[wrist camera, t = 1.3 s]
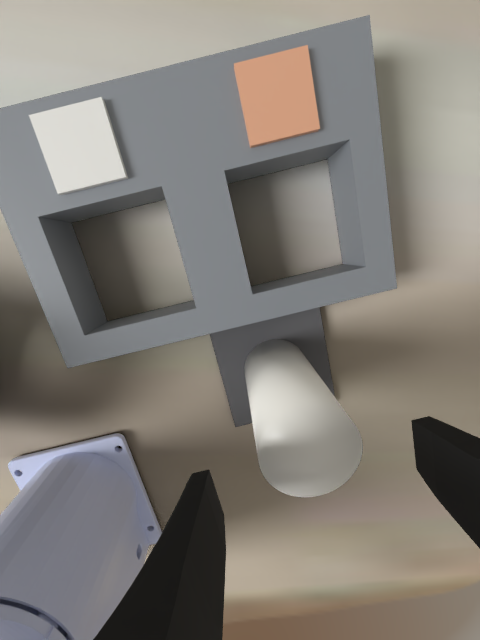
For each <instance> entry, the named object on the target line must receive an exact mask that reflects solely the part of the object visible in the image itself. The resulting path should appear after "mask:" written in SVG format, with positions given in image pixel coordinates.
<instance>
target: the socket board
mask: <svg viewBox="0 0 480 640" xmlns="http://www.w3.org/2000/svg"><path fill="white" fill-rule="evenodd" d="M326 159H328V166H329V173H330V180H331V187H332V194H333V201H334V208H335V214H336V221H337V228H338V235H339V242H340V249H341V256H342V263H343V264H341V265H337V266H333V267H329V268H324V269H320V270H316V271H312V272H308V273H304V274H300V275H296V276H292V277H288V278H283V279H279V280H275V281H271V282H267V283H263V284H259V285H255V286H250V281H249V277H248V273H247V268H246V264H245V259H244V255H243V251H242V246H241V242H240V238H239V233H238V229H237V224H236V220H235V216H234V211H233V207H232V203H231V198H230V194H229V190H228V185H227V184H229V183H233V182H237V181H241V180H245V179H249V178H253V177H257V176H261V175H265V174H269V173H273V172H277V171H281V170H285V169H289V168H293V167H297V166H302V165H306V164H310V163H314V162H318V161H322V160H326ZM164 199H166V203H167V206H168V210H169V213H170V217H171V220H172V224H173V228H174V231H175V235H176V238H177V242H178V245H179V249H180V252H181V256H182V259H183V263H184V267H185V270H186V274H187V277H188V281H189V284H190V288H191V291H192V295H193V298H194V300H193V301H189V302H185V303H181V304H177V305H173V306H169V307H165V308H161V309H156V310H152V311H148V312H144V313H140V314H136V315H132V316H128V317H124V318H120V319H115V320H111V321H107V319H106V316H105V314H104V311H103V308H102V305H101V303H100V300H99V297H98V294H97V292H96V289H95V286H94V283H93V281H92V278H91V275H90V273H89V270H88V267H87V264H86V262H85V259H84V256H83V253H82V251H81V248H80V245H79V242H78V240H77V237H76V234H75V231H74V229H73V226H72V223H71V222H76V221H80V220H84V219H88V218H92V217H96V216H100V215H104V214H108V213H112V212H116V211H120V210H124V209H128V208H132V207H136V206H140V205H144V204H148V203H152V202H156V201H160V200H164ZM0 209H1V211H2V214H3V216H4V218H5V221H6V223H7V225H8V228H9V230H10V233H11V235H12V237H13V240H14V242H15V245H16V247H17V249H18V252H19V254H20V256H21V259H22V261H23V264H24V266H25V268H26V271H27V273H28V276H29V278H30V280H31V283H32V285H33V287H34V290H35V292H36V295H37V297H38V299H39V302H40V304H41V306H42V309H43V311H44V314H45V316H46V318H47V321H48V323H49V326H50V328H51V330H52V333H53V335H54V337H55V340H56V342H57V345H58V347H59V349H60V352H61V354H62V357H63V359H64V361H65V364H66V366H67V368H71V367H75V366H79V365H83V364H87V363H91V362H95V361H100V360H104V359H108V358H112V357H116V356H120V355H124V354H128V353H132V352H137V351H141V350H145V349H149V348H153V347H157V346H161V345H165V344H170V343H174V342H178V341H182V340H186V339H190V338H194V337H198V336H203V335H207V334H211V333H215V332H219V331H223V330H227V329H231V328H235V327H240V326H244V325H248V324H252V323H256V322H260V321H264V320H268V319H273V318H277V317H281V316H285V315H289V314H293V313H297V312H301V311H305V310H310V309H314V308H318V307H322V306H326V305H330V304H334V303H338V302H343V301H347V300H351V299H355V298H359V297H363V296H367V295H371V294H376V293H380V292H384V291H388V290H392V289H396V288H397V283H396V273H395V263H394V253H393V243H392V233H391V223H390V214H389V204H388V194H387V184H386V174H385V164H384V154H383V144H382V134H381V124H380V114H379V104H378V95H377V85H376V75H375V65H374V55H373V45H372V35H371V25H370V15H368V16H364V17H360V18H356V19H352V20H348V21H344V22H340V23H336V24H332V25H328V26H324V27H320V28H316V29H312V30H308V31H304V32H300V33H296V34H292V35H288V36H284V37H280V38H276V39H273V40H269V41H265V42H261V43H257V44H253V45H249V46H245V47H241V48H237V49H233V50H229V51H225V52H221V53H217V54H213V55H209V56H205V57H201V58H197V59H193V60H189V61H185V62H181V63H177V64H173V65H169V66H166V67H162V68H158V69H154V70H150V71H146V72H142V73H138V74H134V75H130V76H126V77H122V78H118V79H114V80H110V81H106V82H102V83H98V84H94V85H90V86H86V87H82V88H78V89H74V90H70V91H66V92H62V93H59V94H55V95H51V96H47V97H43V98H39V99H35V100H31V101H27V102H23V103H19V104H15V105H11V106H7V107H3V108H0Z"/></svg>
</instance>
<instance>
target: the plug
mask: <svg viewBox="0 0 480 640" xmlns="http://www.w3.org/2000/svg"><path fill="white" fill-rule="evenodd" d="M244 369H245V378H246V384H247V391H248V397H249V404H250V410H251V417H252V423H253V430H254V436H255V443H256V449H257V455H258V462H259V467H260V470H261V472H262V474H263V476H264V478H265V479H266V480H267V482H268V483H269V484H270V485H271V486H273V487H274V488H275V489H277V490H279V491H280V492H282V493H285V494H287V495H291V496H295V497H315V496H320V495H324V494H327V493H329V492H332V491H334V490H335V489H337V488H339V487H340V486H342V485H343V484H344V483H345V482H347V481H348V480H349V479H350V477H351V476H352V475H353V474H354V472H355V471H356V469H357V467H358V466H359V463H360V461H361V457H362V451H363V444H362V438H361V435H360V432H359V430H358V428H357V427H356V425H355V424H354V422H353V421H352V420H351V418H350V417H349V416H348V414H347V413H346V411H345V410H344V409H343V407H342V406H341V405H340V403H339V402H338V401H337V399H336V398H335V397H334V395H333V394H332V393H331V391H330V390H329V388H328V387H327V386H326V384H325V383H324V382H323V380H322V379H321V378H320V376H319V375H318V374H317V372H316V371H315V369H314V368H313V367H312V365H311V364H310V363H309V361H308V360H307V359H306V357H305V356H304V355H303V353H302V352H301V351H300V349H299V348H298V347H297V346H296V345H294V344H293V343H291V342H289V341H286V340H282V339H272V340H267V341H264V342H262V343H260V344H259V345H257V346H256V347H255V348H254V349H253V350H252V351H251V352H250V353H249V355H248V357H247V359H246V362H245V368H244Z"/></svg>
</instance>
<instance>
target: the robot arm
mask: <svg viewBox="0 0 480 640" xmlns="http://www.w3.org/2000/svg"><path fill="white" fill-rule="evenodd" d="M412 430H413V439H414V449H415V458H416V468H417V470H418V472H419V473H420V475H421V476H422V478H423V479H424V481H425V482H426V484H427V485H428V486H429V488H430V489H431V491H432V492H433V494H434V495H435V496H436V498H437V499H438V500H439V501H440V503H441V504H442V505H443V506H444V507H445V509H446V510H447V511H448V512H449V513H450V514H451V516H452V517H453V518H454V519H455V520H456V522H457V523H458V524H459V525H460V526H461V527H462V528H463V530H464V531H465V532H466V533H467V534H468V535H469V537H470V538H471V539H472V540H473V541H474V542H475V543H476V545H477V546H478V547H479V548H480V438H477V437H475V436H473V435H471V434H469V433H466V432H464V431H462V430H460V429H457V428H455V427H453V426H451V425H448V424H446V423H444V422H442V421H439V420H437V419H434V418H432V417H429V416H428V417H424V418H420V419H416V420H412ZM117 446H121V447H122V449H120V448H118V447H117ZM8 468H9V470H10V472H11V474H12V476H13V478H14V479H15V481H16V483H17V485H18V487H19V489H20V492H19V493H18V495H17V496H16V497H15V498H14V499H13V500H12V502H11V503H10V504H9V505H8V506H7V507H6V509H5V510H4V511H3V512H2V513H1V515H0V640H222V630H223V608H224V585H225V561H226V542H225V524H224V514H223V511H222V508H221V505H220V501H219V498H218V495H217V492H216V489H215V486H214V483H213V480H212V477H211V474H210V470H205V471H201V472H197V473H193V474H192V475H191V476H190V478H189V480H188V482H187V484H186V487H185V489H184V491H183V493H182V495H181V497H180V499H179V501H178V503H177V505H176V507H175V509H174V511H173V513H172V515H171V517H170V519H169V521H168V523H167V524H166V526H165V528H164V530H163V532H162V531H161V529H160V526H159V524H158V521H157V518H156V516H155V513H154V511H153V508H152V506H151V503H150V501H149V498H148V495H147V493H146V490H145V488H144V485H143V483H142V480H141V477H140V475H139V472H138V470H137V467H136V465H135V462H134V460H133V457H132V454H131V452H130V449H129V447H128V444H127V442H126V439H125V437H124V436H123V435H122V434H119V433H115V434H111V435H107V436H103V437H98V438H94V439H90V440H86V441H82V442H78V443H73V444H69V445H65V446H61V447H57V448H53V449H49V450H44V451H40V452H36V453H32V454H28V455H24V456H19V457H15V458H13V459H12V460H11V461H10V462H9V464H8ZM19 470H20V471H19ZM21 471H22V472H21ZM152 544H156V545H155V546H154V548H153V550H152V552H151V553H150V555H149V557H148V558H147V560H146V562H145V558H146V554H147V550H148V547H149V545H152ZM144 562H145V564H144Z"/></svg>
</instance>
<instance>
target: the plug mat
mask: <svg viewBox="0 0 480 640" xmlns="http://www.w3.org/2000/svg"><path fill="white" fill-rule="evenodd" d="M210 337H211V340H212V344H213V347H214V351H215V355H216V358H217V362H218V366H219V369H220V373H221V376H222V380H223V384H224V387H225V391H226V395H227V398H228V402H229V405H230V409H231V413H232V416H233V420H234V423H235V427H238V426H242V425H246V424H250V423H252V417H251V410H250V404H249V397H248V391H247V384H246V378H245V369H244V368H245V362H246V359H247V357H248V355H249V353H250V352H251V351H252V350H253V349H254V348H255V347H256V346H257V345H259V344H260V343H262V342H264V341H267V340H272V339H282V340H286V341H289V342H291V343H293V344H294V345H296V346H297V347H298V348H299V349H300V351H301V352H302V353H303V355H304V356H305V357H306V359H307V360H308V361H309V363H310V364H311V365H312V367H313V368H314V369H315V371H316V372H317V374H318V375H319V376H320V378H321V379H322V380H323V382H324V383H325V384H326V386H327V387H328V388H329V390H330V391H331V393H332V394H333V395H334V389H333V383H332V377H331V371H330V365H329V360H328V354H327V348H326V342H325V336H324V330H323V325H322V319H321V313H320V307H318V308H314V309H310V310H305V311H301V312H297V313H293V314H289V315H285V316H281V317H277V318H273V319H268V320H264V321H260V322H256V323H252V324H248V325H244V326H240V327H235V328H231V329H227V330H223V331H219V332H215V333H211V334H210ZM334 397H335V395H334Z"/></svg>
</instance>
